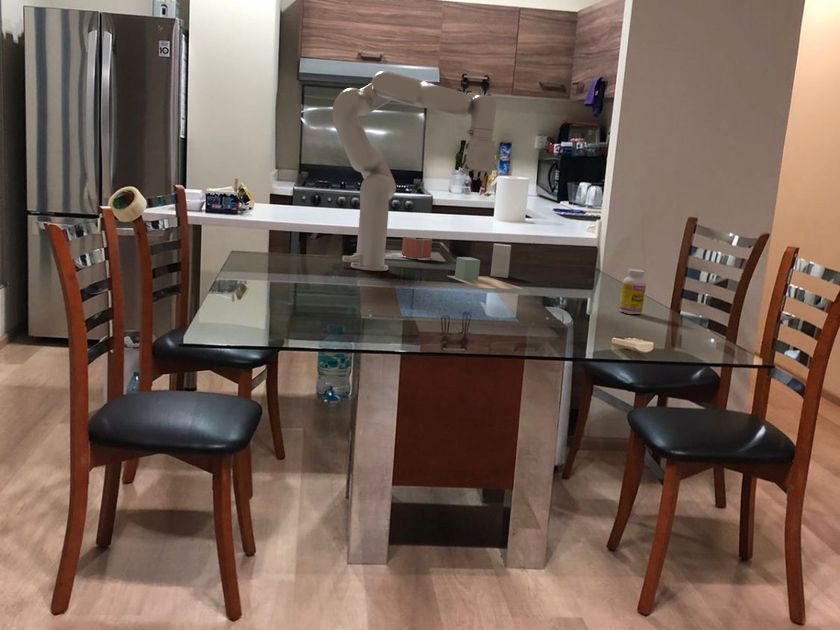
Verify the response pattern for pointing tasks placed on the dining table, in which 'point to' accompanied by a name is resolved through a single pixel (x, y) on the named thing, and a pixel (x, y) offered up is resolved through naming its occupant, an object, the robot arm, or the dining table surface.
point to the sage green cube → (467, 268)
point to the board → (488, 283)
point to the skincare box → (500, 260)
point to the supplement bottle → (633, 292)
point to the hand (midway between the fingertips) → (475, 192)
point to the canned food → (416, 247)
